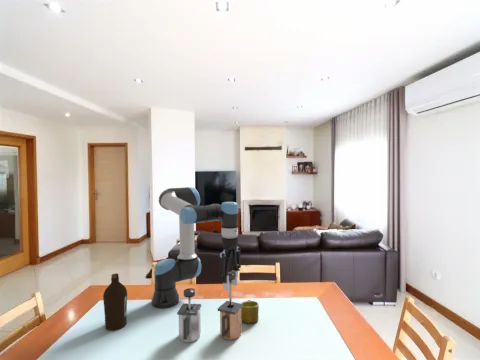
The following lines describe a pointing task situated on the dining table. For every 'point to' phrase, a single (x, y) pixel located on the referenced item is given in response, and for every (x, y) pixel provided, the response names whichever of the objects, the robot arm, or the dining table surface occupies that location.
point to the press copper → (230, 320)
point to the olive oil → (115, 304)
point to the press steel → (189, 323)
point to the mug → (249, 311)
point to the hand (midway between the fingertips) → (230, 287)
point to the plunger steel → (189, 296)
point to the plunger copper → (231, 277)
